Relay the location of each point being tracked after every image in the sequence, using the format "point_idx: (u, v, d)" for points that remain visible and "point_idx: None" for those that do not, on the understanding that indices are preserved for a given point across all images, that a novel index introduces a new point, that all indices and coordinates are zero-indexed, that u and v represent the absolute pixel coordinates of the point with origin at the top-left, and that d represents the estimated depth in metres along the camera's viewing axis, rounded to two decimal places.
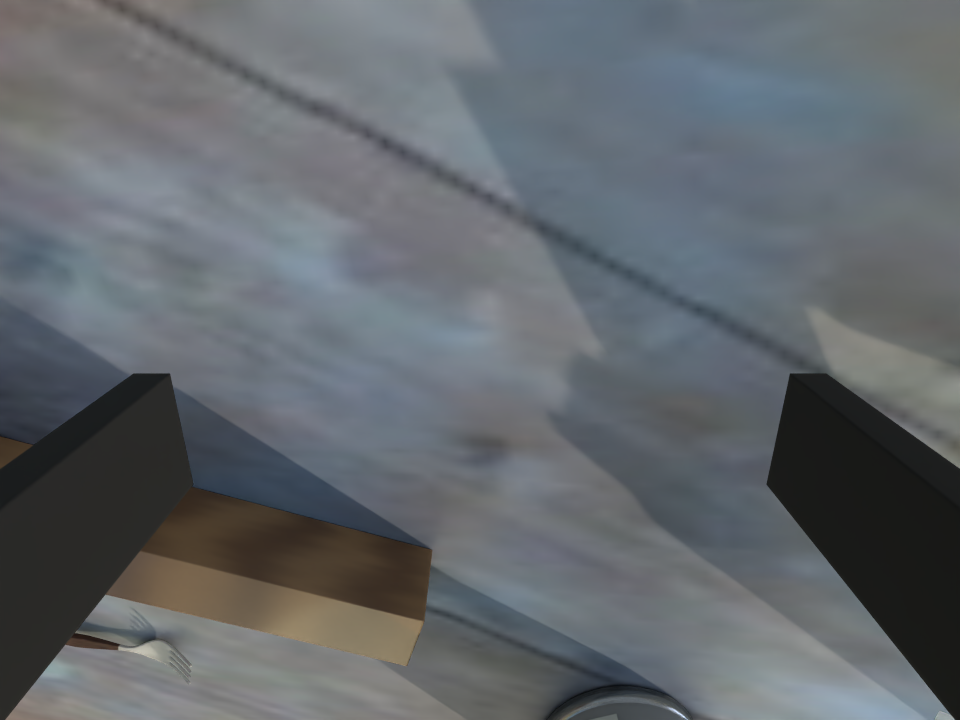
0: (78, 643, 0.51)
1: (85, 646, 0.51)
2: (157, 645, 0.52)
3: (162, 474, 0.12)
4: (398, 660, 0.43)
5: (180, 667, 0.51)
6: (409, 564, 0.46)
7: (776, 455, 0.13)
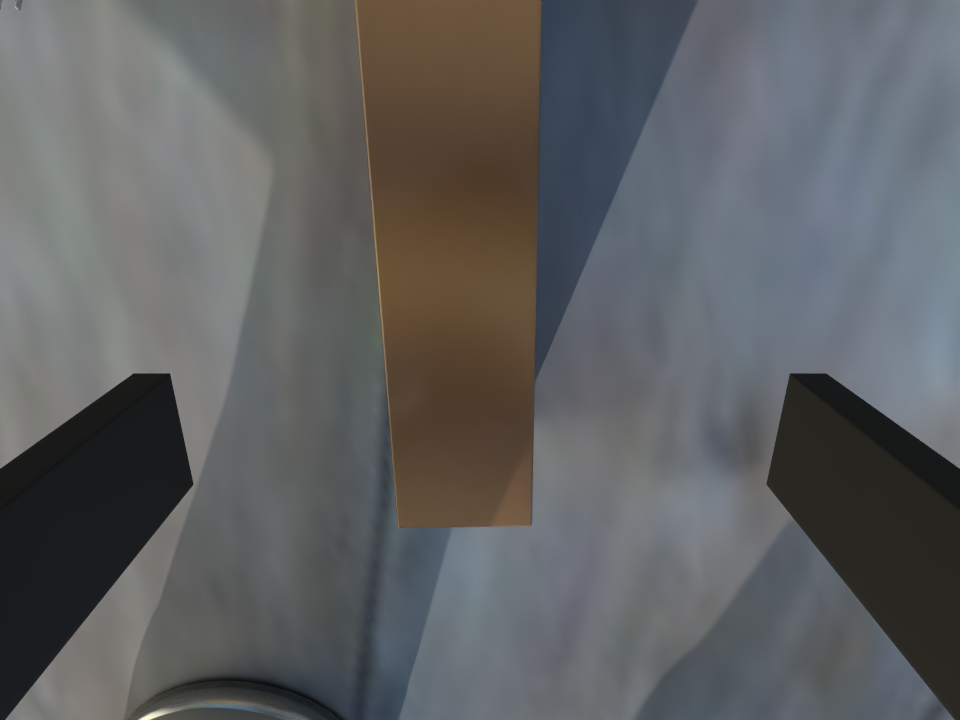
0: None
1: None
2: None
3: (162, 474, 0.12)
4: (408, 509, 0.20)
5: None
6: None
7: (776, 454, 0.13)
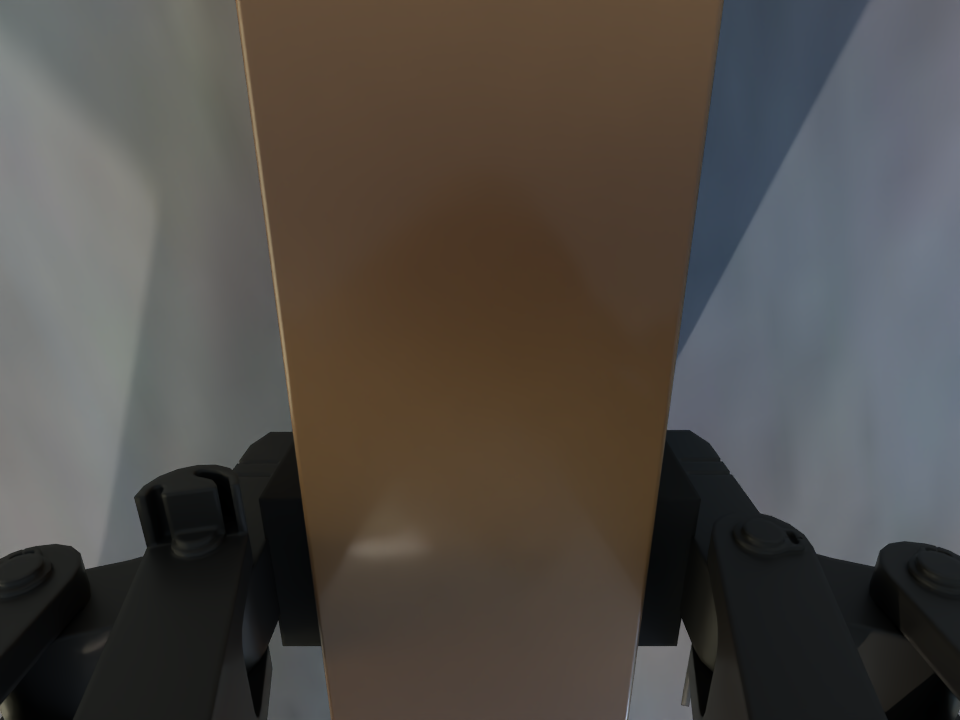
0: None
1: None
2: None
3: None
4: None
5: None
6: None
7: None
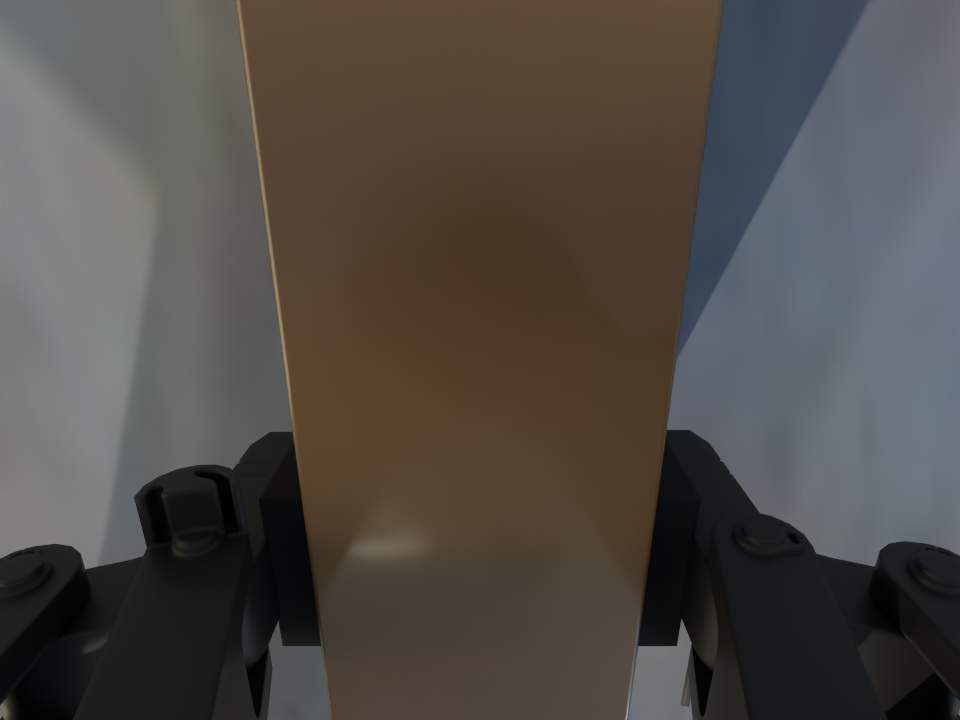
0: None
1: None
2: None
3: None
4: None
5: None
6: None
7: None
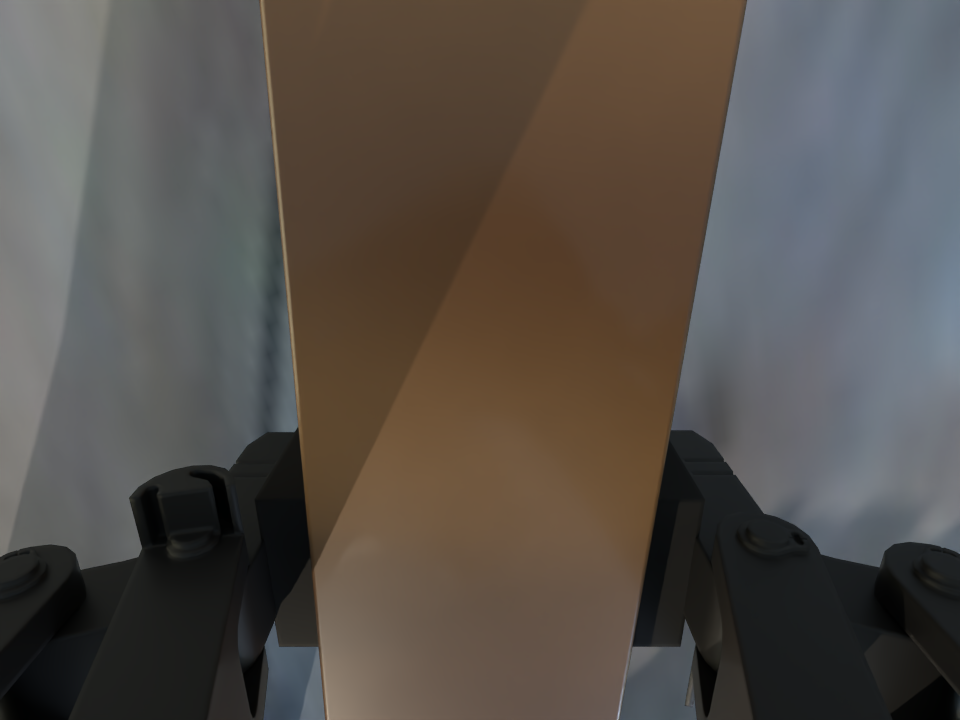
0: None
1: None
2: None
3: None
4: None
5: None
6: None
7: None
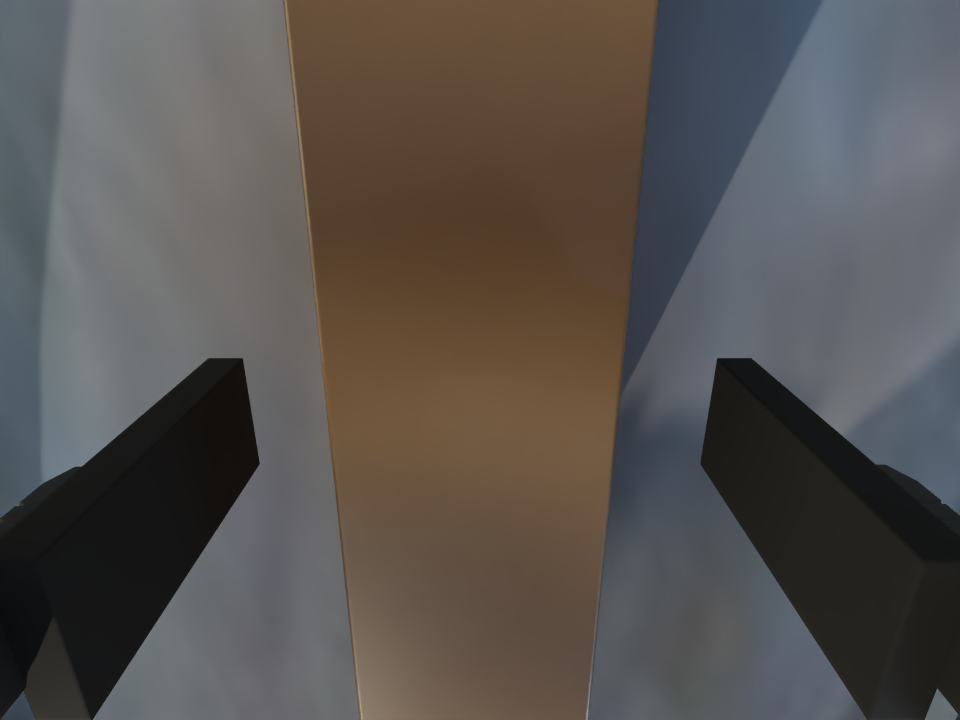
0: None
1: None
2: None
3: (237, 452, 0.13)
4: None
5: None
6: None
7: (707, 435, 0.14)
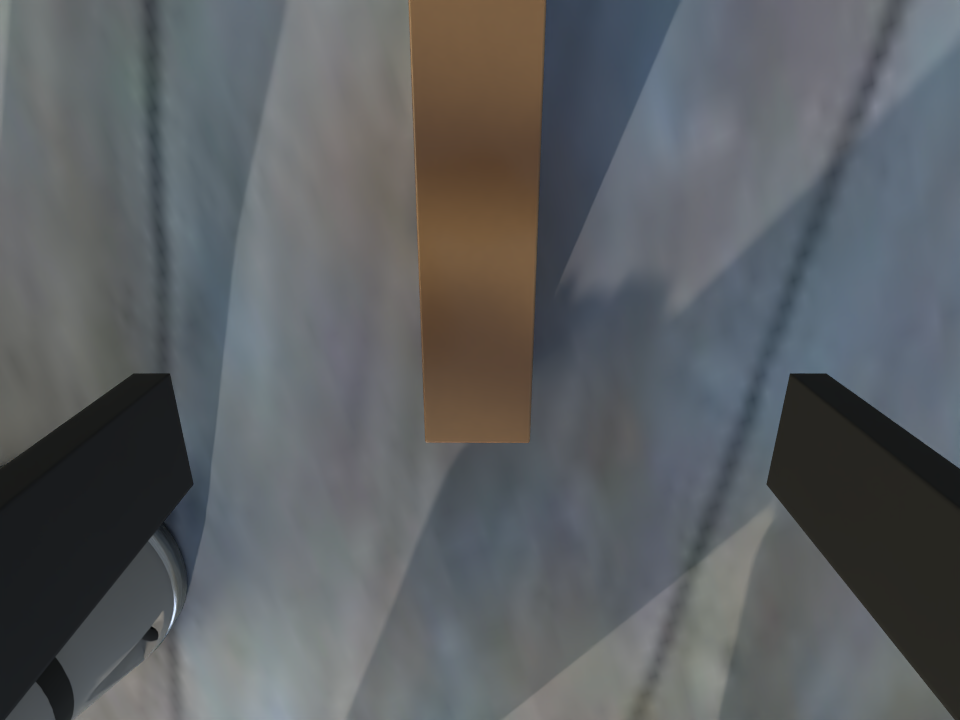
0: None
1: None
2: None
3: (162, 474, 0.12)
4: (434, 427, 0.25)
5: None
6: None
7: (776, 455, 0.13)
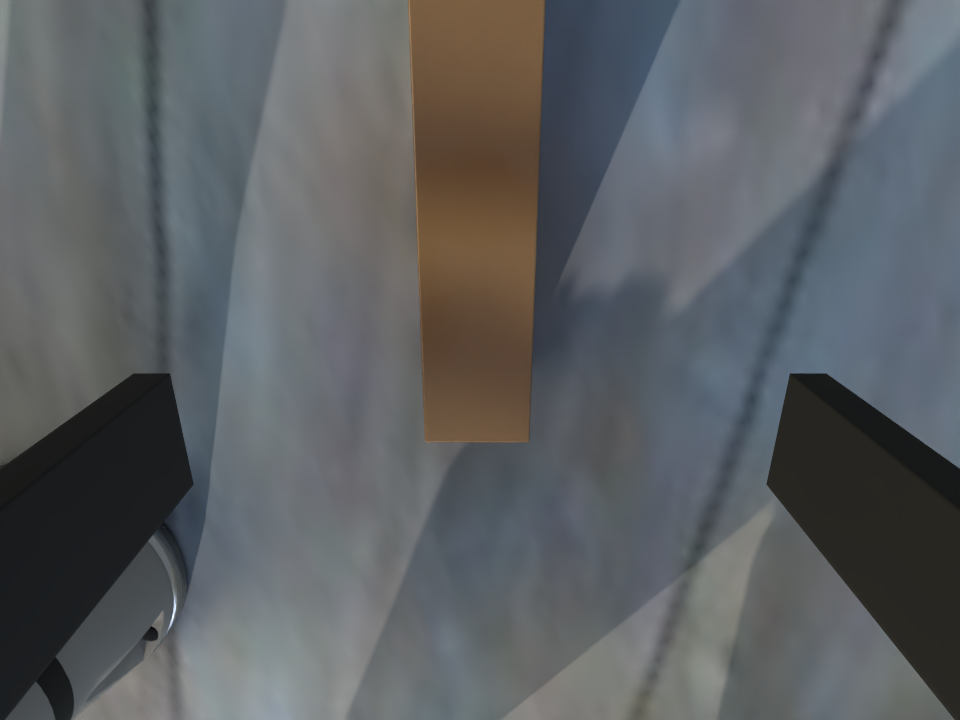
0: None
1: None
2: None
3: (162, 474, 0.12)
4: (433, 426, 0.25)
5: None
6: None
7: (776, 454, 0.13)
